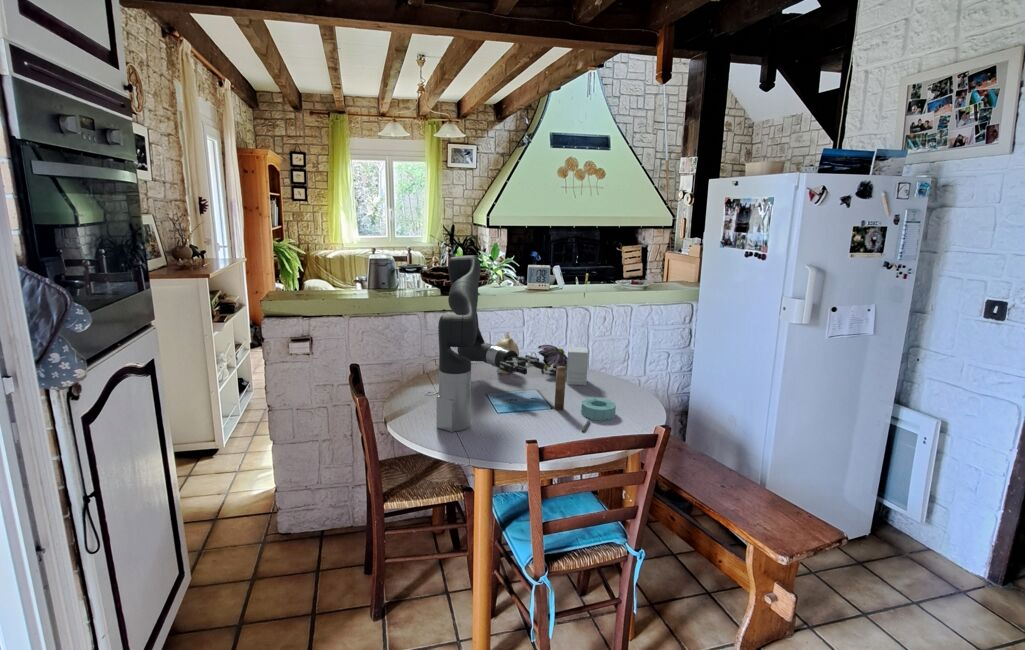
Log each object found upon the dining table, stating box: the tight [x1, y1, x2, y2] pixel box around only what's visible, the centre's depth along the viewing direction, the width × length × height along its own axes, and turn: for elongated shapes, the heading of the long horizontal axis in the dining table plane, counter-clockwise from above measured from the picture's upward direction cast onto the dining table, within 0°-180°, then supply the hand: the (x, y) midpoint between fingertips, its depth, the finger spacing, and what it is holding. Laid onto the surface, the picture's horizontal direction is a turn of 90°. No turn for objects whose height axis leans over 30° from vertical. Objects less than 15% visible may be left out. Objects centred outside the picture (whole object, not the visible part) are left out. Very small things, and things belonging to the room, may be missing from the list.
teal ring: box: [580, 397, 617, 421], centre depth 177 cm, size 10×10×4 cm
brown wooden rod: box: [554, 366, 567, 411], centre depth 180 cm, size 3×3×14 cm
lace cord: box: [581, 419, 591, 433], centre depth 167 cm, size 8×1×1 cm, turn 160°
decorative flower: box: [537, 344, 568, 373], centre depth 219 cm, size 15×12×15 cm
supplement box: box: [566, 346, 589, 386], centre depth 207 cm, size 7×7×13 cm
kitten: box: [494, 332, 520, 375], centre depth 216 cm, size 15×10×15 cm
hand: (535, 369), depth 187 cm, fingers open, 8 cm apart
